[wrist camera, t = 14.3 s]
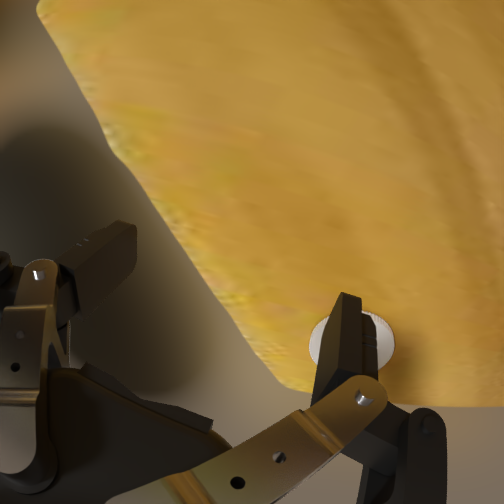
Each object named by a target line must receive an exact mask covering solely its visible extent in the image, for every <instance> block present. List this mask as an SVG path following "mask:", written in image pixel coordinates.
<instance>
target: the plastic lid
mask: <svg viewBox="0 0 504 504" xmlns="http://www.w3.org/2000/svg"><path fill="white" fill-rule="evenodd" d="M362 313H364V314H367V315H370V316H371V318H372V320H373V321H374V323H375V325H376V332H377V338H376V340H377V353H378V370H379V369H380V368H382V366H384V365H385V364H387V362H388V361H389V360H390V357H392V355H393V352H394V346H395V345H394V336H393V331H392V329H391V328H390V326H388V323H386V321H384V319H381V317H378V315H375V314H371V313H370V312H369V313H368V312H367V311H366V312H364V311H362ZM328 318H329V316H328V317H327V318H324V320H322V321H321V322H319V324H317V326H316V327H315V329H314V330H313V332H312V335H311V338H310V343H309V350H310V355H311V358H313V359H312V360H314V362H315V363H316V365H317V364H318V358H319V351H320V344H321V338H322V334H323V331H324V328H325V325H326V323H327V320H328Z"/></svg>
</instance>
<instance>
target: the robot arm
mask: <svg viewBox="0 0 504 504" xmlns="http://www.w3.org/2000/svg"><path fill="white" fill-rule="evenodd" d="M136 261H137V228H136V226H135V225H133V224H130V223H127V222H124V221H121V220H117V221H115V222H113V223H112V224H111V225H109V226H108V227H106V228H103V229H100V230H97V231H94V232H92V233H91V234H89V235H88V236H86V237H85V238H84V240H83V239H82V240H81V241H79V242H78V243H77V245H76V244H75V245H74V246H72V247H71V248H70V249H68V250H67V251H66V252H64V253H63V254H62V255H60V256H59V257H58V258H56V259H55V260H54V261H52V260H48V259H39V260H35V261H33V262H31V263H29V264H28V265H26V267H19V266H14V265H12V262H11V258H10V255H9V254H8V253H7V252H4V251H0V504H274V503H276V502H277V501H279V500H280V499H281V498H283V497H285V496H286V495H287V494H289V493H290V492H291V491H293V490H294V489H296V488H297V487H298V486H299V485H301V484H302V483H303V482H305V481H306V480H307V479H309V478H310V477H311V476H312V475H314V474H315V473H316V472H317V471H319V470H320V469H321V468H323V467H324V466H325V465H326V464H327V463H328V462H330V461H331V460H332V459H333V458H334V457H336V456H337V455H338V454H339V453H340V452H341V453H342V454H344V455H346V456H348V457H350V458H352V459H354V460H355V461H357V462H359V463H361V464H363V470H362V476H361V482H360V487H359V493H358V498H357V503H356V504H446V500H447V438H446V427H445V423H444V421H443V419H442V418H441V417H440V416H439V414H437V413H436V412H435V411H433V410H431V409H428V408H418V409H416V410H414V411H413V412H412V413H411V414H410V413H407V412H406V411H403V410H402V409H400V408H398V407H396V406H395V405H393V404H391V403H390V402H389V401H388V397H387V393H386V391H385V389H384V387H383V386H382V385H381V384H380V383H379V382H378V353H377V340H376V338H377V332H376V325H375V323H374V321H373V320H372V318H371V316H370V315H367V314H364V313H362V300H361V298H360V297H356V296H353V295H350V294H347V293H344V292H341V293H340V295H339V297H338V299H337V301H336V303H335V305H334V308H333V310H332V312H331V314H330V316H329V318H328V320H327V323H326V325H325V328H324V331H323V334H322V338H321V344H320V351H319V358H318V364H317V370H316V376H315V382H314V388H313V394H312V399H311V405H310V408H308V409H307V410H305V411H302V410H300V409H299V410H296V411H294V412H293V413H291V414H289V415H288V416H286V417H285V418H283V419H281V420H280V421H278V422H277V423H275V424H273V425H272V426H270V427H268V428H267V429H265V430H263V431H262V432H260V433H258V434H257V435H255V436H253V437H251V438H250V439H248V440H246V441H245V442H243V443H241V444H239V445H237V446H236V447H234V448H232V446H231V445H230V444H229V443H228V442H227V441H226V440H225V439H224V438H222V437H221V436H220V435H219V434H218V433H216V432H215V431H213V430H212V425H213V420H212V419H209V418H207V417H204V416H201V415H198V414H196V413H193V412H191V411H188V410H186V409H183V408H181V407H178V406H172V405H167V404H162V403H157V402H152V401H148V400H143V399H140V398H139V397H137V396H136V395H135V394H134V393H132V392H131V391H130V390H129V389H128V388H126V387H125V386H124V385H123V384H122V383H120V382H119V381H118V380H117V379H116V378H115V377H114V376H112V375H110V374H108V373H106V372H104V371H102V370H100V369H99V368H97V367H95V366H93V365H91V364H90V363H88V362H86V363H85V364H84V366H83V367H82V368H81V369H76V368H70V362H69V361H70V357H69V356H70V352H69V351H70V322H69V320H70V319H71V318H72V317H75V318H77V319H79V320H81V321H83V322H84V321H85V320H86V318H87V317H88V316H89V315H90V314H91V313H92V312H93V311H94V310H95V309H96V308H97V307H98V306H99V305H100V304H101V303H102V302H103V301H104V300H105V299H106V298H107V297H108V296H109V295H110V294H111V293H112V292H113V291H114V290H115V289H116V288H117V287H118V286H119V285H120V284H121V283H122V282H123V281H124V280H125V279H126V278H127V277H128V276H129V275H130V274H131V273H132V271H133V270H134V268H135V265H136Z"/></svg>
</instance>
